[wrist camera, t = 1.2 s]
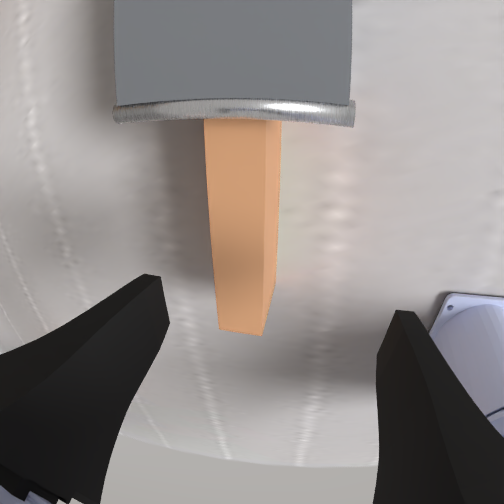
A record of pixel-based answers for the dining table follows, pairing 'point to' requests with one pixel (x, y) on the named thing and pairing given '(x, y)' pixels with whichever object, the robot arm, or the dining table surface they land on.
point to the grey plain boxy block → (233, 60)
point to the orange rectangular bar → (243, 217)
